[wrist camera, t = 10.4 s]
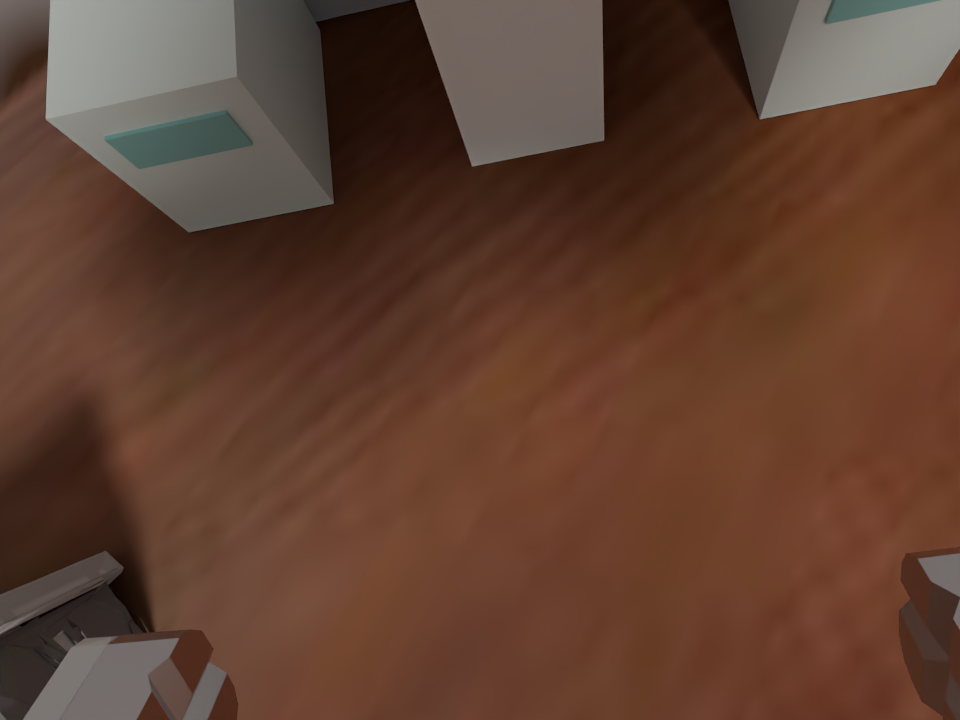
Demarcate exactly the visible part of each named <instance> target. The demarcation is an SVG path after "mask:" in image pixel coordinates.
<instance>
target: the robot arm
mask: <svg viewBox="0 0 960 720" xmlns="http://www.w3.org/2000/svg"><path fill="white" fill-rule="evenodd" d="M901 582H902V584H903V586H904V588H905V589H906V591H907V593H908V595H909V597H910V600H909V601H908V602H907V603H906V604H905V605H904V606H903V607H902V608H901V609H900V610H899V636H900V641H901V646H902V651H903V657H904V660H905V663H906V666H907V669H908V672H909V674H910V677H911V680H912V682H913V684H914V686H915V688H916V690H917V692H918V695H919V697H920V699H921V701H922V702H923V703H925V704H926V705H927V706H929V707H930V708H932V709H933V710H935V711H936V712H937V713H939V714H940V715H942V716H943V720H960V547H956V548H947V549H939V550H930V551H921V552H913V553H906V555H905V557H904V559H903V561H902V567H901ZM212 652H213V648H212V646H211V644H210V643H209V641H208V640H207V638H206V637H205V635H204V633H203V632H202V631H199V630H178V631H165V632H153V633H140V634H127V635H119V636H110V637H97V638H85V639H83V640H82V641H80V642H79V643H77V644H76V645H74V646H73V647H71V649H70V650H69V652H68V653H67V655H66V656H65V658H64V659H63V661H62V662H61V664H60V665H59V667H58V668H57V670H56V671H55V673H54V674H53V676H52V677H51V678H50V680H49V681H48V683H47V684H46V686H45V687H44V689H43V690H42V692H41V693H40V695H39V696H38V698H37V699H36V701H35V702H34V704H33V705H32V707H31V708H30V710H29V711H28V713H27V714H26V716H25V717H24V719H23V720H237V711H238V702H237V697H236V693H235V688H234V686H233V684H232V682H231V680H230V678H229V676H228V674H227V673H226V672H224V671H222V670H221V669H219V668H218V667H216V666H214V665H213V664H211V663H210V662H209V660H210V657H211V654H212Z"/></svg>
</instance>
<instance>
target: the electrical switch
mask: <svg viewBox="0 0 960 720" xmlns="http://www.w3.org/2000/svg"><path fill="white" fill-rule="evenodd" d="M123 569H124V567H123V566H122V565H121V564H119V563H118V562H117V561H116V560H115V559H114V558H113V557H112V556H111V555H110V554H109V553H108V552H107V551H104V552H101V553H99V554H96V555H94V556H92V557H89V558H87V559H84V560H82V561H79V562H77V563H75V564H72V565H70V566H67V567H65V568H63V569H60V570H58V571H55V572H53V573H51V574H48V575H46V576H44V577H41V578H39V579H36V580H34V581H32V582H29V583H27V584H24V585H22V586H20V587H17V588H15V589H13V590H10V591H8V592H5V593H3V594H1V595H0V720H23V719H24V717H25V716H26V714H27V713H28V711H29V710H30V708H31V707H32V705H33V704H34V702H35V701H36V699H37V698H38V696H39V695H40V693H41V692H42V690H43V689H44V687H45V686H46V684H47V683H48V681H49V680H50V678H51V677H52V676H53V674H54V673H55V671H56V670H57V668H58V667H59V665H60V664H61V662H62V661H63V659H64V658H65V656H66V655H67V653H68V652H69V650H70V649H71V647H73V646H74V645H76V644H77V643H79V642H80V641H82V640H83V639H85V638H97V637H110V636H119V635H127V634H140V633H143V631H142V630H141V629H140V628H139V627H138V626H137V625H136V624H135V623H134V621H133V620H132V618H131V616H130V614H129V612H128V610H127V609H126V607H125V606H124V605H123V604H122V603H121V602H120V601H119V600H118V599H117V598H116V597H115V595H114V594H113V592H112V591H111V589H110V588H109V586H108V585H109V584H110V583H111V582H112V581H113V580H114V579H115V578H116V577H118V576H119V575H120V574H121V573H122V571H123Z"/></svg>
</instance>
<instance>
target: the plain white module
mask: <svg viewBox="0 0 960 720" xmlns="http://www.w3.org/2000/svg"><path fill="white" fill-rule="evenodd" d="M415 2H416V5H417V8H418V11H419V13H420V16H421V19H422V22H423V25H424V28H425V31H426V34H427V37H428V40H429V43H430V45H431V48H432V51H433V54H434V57H435V60H436V63H437V66H438V69H439V72H440V75H441V77H442V80H443V83H444V86H445V89H446V92H447V95H448V98H449V101H450V104H451V106H452V109H453V112H454V115H455V118H456V121H457V124H458V127H459V130H460V133H461V136H462V138H463V141H464V144H465V147H466V150H467V153H468V156H469V159H470V162H471V165H472V167H473V166H478V165H483V164H488V163H493V162H498V161H503V160H508V159H513V158H518V157H523V156H528V155H533V154H538V153H544V152H549V151H554V150H559V149H564V148H569V147H574V146H579V145H584V144H589V143H594V142H599V141H604V88H603V16H602V0H415Z"/></svg>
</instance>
